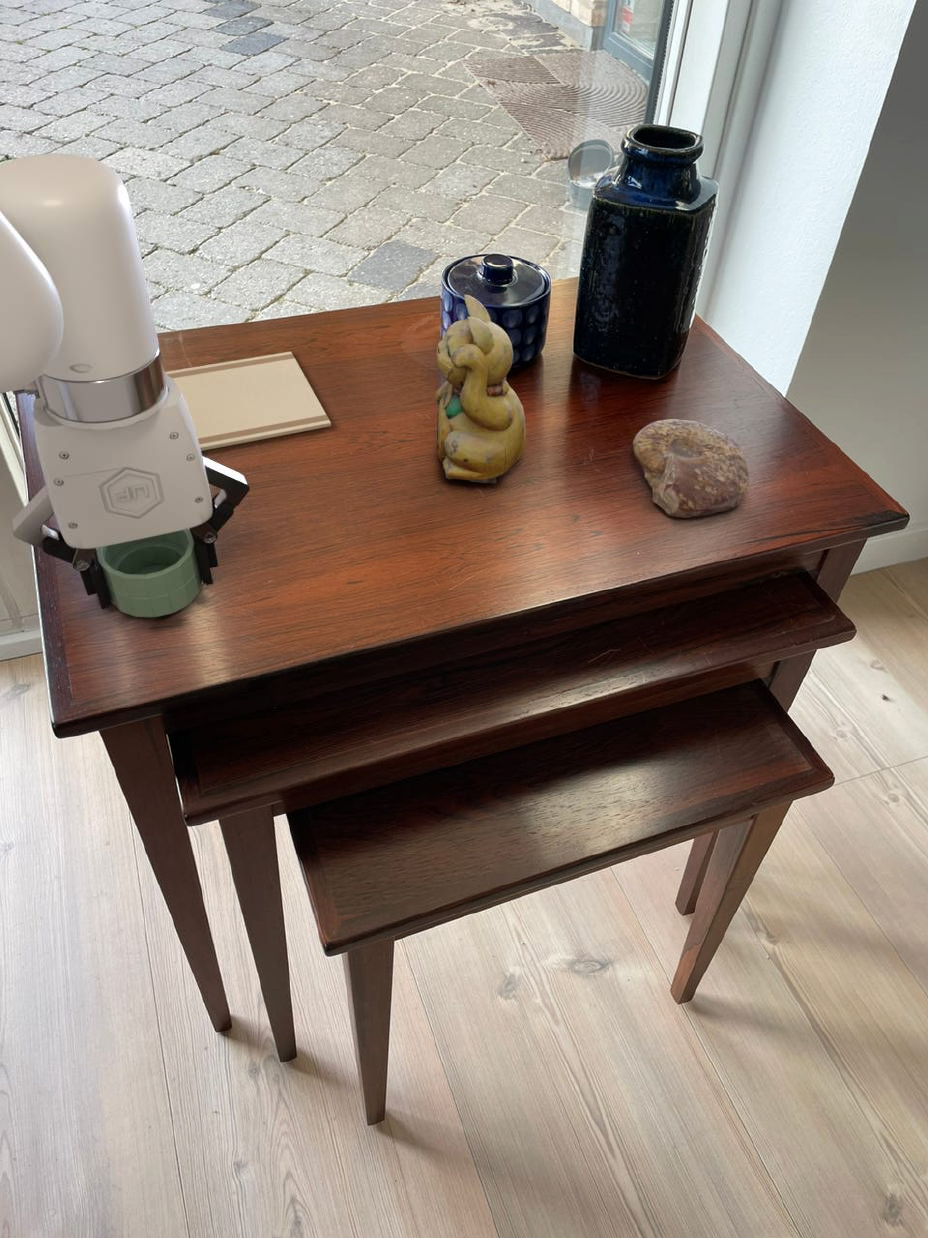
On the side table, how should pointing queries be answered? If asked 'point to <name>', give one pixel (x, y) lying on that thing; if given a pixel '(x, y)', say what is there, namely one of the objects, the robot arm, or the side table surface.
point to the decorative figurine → (477, 400)
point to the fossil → (691, 467)
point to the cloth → (249, 400)
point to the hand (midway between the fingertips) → (155, 583)
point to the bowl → (151, 574)
